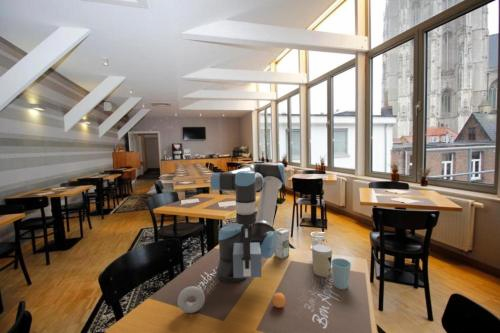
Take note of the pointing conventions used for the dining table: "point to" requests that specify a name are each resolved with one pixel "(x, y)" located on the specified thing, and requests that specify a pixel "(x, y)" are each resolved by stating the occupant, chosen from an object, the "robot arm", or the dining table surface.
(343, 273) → the cup
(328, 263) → the coffee cup
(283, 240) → the syrup box
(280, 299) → the ball
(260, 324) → the dining table surface
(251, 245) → the slate blue cube
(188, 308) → the grey ring
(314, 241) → the white hollow stepped cylinder
